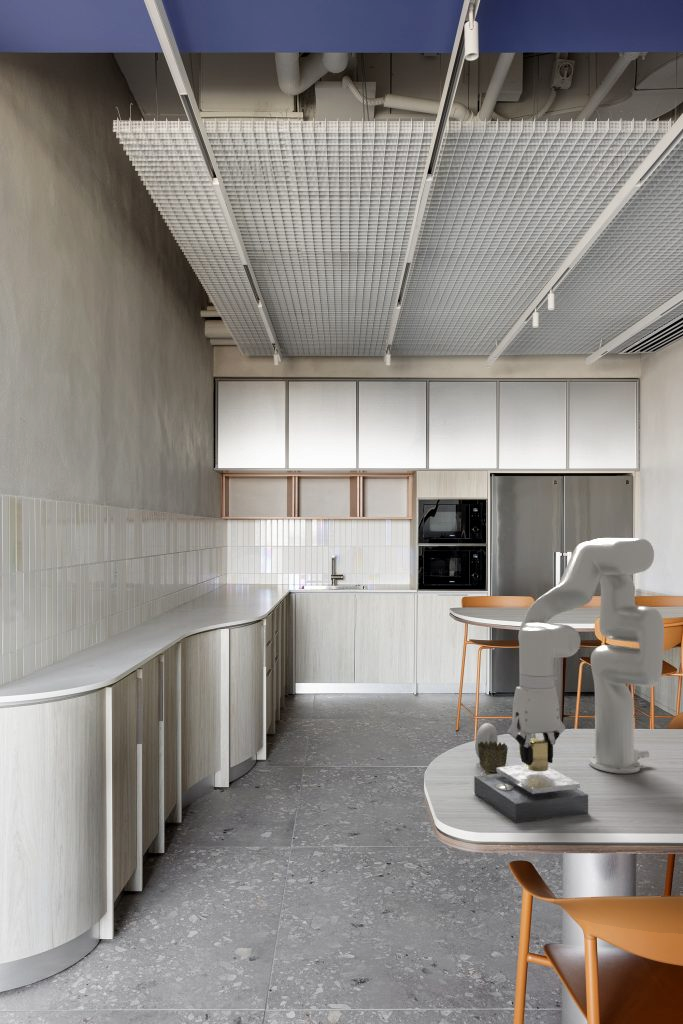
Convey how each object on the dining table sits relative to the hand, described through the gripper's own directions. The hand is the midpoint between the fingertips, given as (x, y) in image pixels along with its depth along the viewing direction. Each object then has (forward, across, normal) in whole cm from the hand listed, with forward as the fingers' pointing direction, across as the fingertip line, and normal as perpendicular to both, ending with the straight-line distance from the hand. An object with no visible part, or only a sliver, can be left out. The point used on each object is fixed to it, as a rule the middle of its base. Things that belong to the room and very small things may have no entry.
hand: (536, 761), depth 161 cm
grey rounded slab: (+9, -4, -30) cm, 32 cm away
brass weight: (+1, 0, 0) cm, 1 cm away
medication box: (+10, -21, -36) cm, 43 cm away
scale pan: (+4, 0, 0) cm, 4 cm away
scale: (+9, +2, 0) cm, 9 cm away
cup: (+9, +1, -18) cm, 20 cm away
